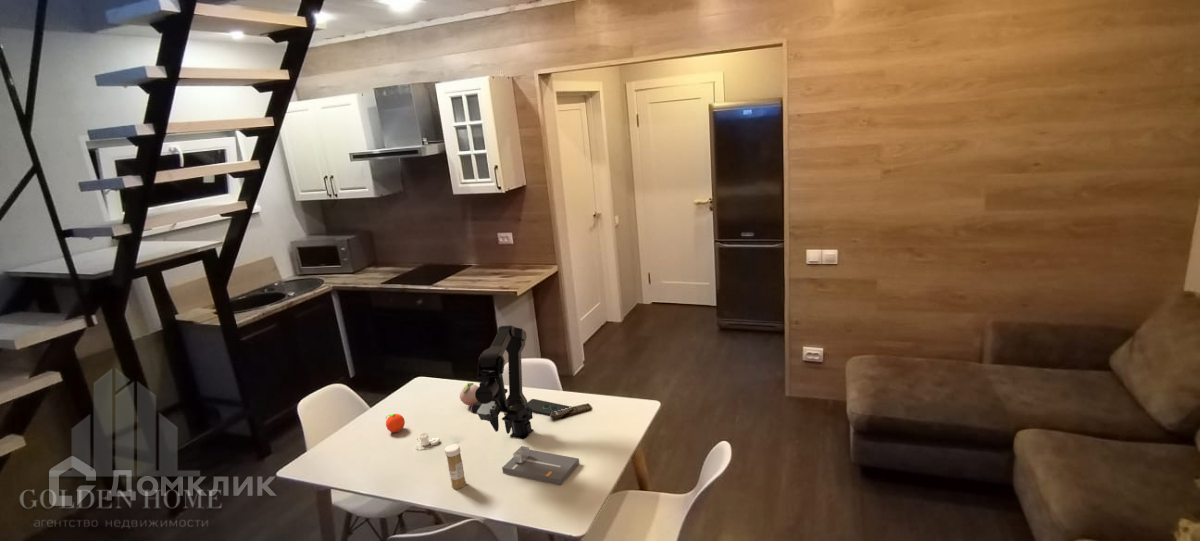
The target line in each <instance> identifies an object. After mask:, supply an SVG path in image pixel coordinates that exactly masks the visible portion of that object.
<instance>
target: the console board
mask: <svg viewBox="0 0 1200 541" xmlns="http://www.w3.org/2000/svg"><path fill="white" fill-rule="evenodd" d="M579 465H580V460H579V458H577V457H572V456H568V455H561V454H556V453H551V452H545V451H539V450H534V449H530V456H529V457H528V458H527V459H526V460H525V461H524V462H523V463H522V464H521V463H516V462H514V456H513V457H512V458H511V459H510V460H509V461H508V462H506V463H505V464H504V465H503V466H502V467H501V469H502V473H503V474H507V475H510V476H517V477H521V478H525V479H530V480H534V481H539V482H544V483H549V484H553V485H559V486H563V484H564V482H565V481H566V480H567V479H568V478H569V477H570V475H572V473H573V472H574V471H575V470H576V469H577V467H579Z"/></svg>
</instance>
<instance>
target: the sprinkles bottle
mask: <svg viewBox="0 0 1200 541" xmlns="http://www.w3.org/2000/svg"><path fill="white" fill-rule="evenodd" d="M444 452H445V453H444V454H445V456H446V459H447V464H448V465H447V467H448V471H449V477H450V482H451V487H452V488H453V489H456V490H458V489H462V488H463V487H464V486H466V484H467V482H466V478H465V469H464V465H463V460H462V454H461V447H460V445H459V444H456V443H454V444H450V445H448V446H446V447H445V449H444Z"/></svg>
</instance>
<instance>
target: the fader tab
mask: <svg viewBox="0 0 1200 541" xmlns="http://www.w3.org/2000/svg"><path fill="white" fill-rule="evenodd" d="M530 450H531V449H530V447H529V446H523V445H521V446H520V447H519V448H518V449H517V450H515V452H513V453H512V455H513V457H514V462H516V463H521V464H522V463H523V462H524V461H525V460H526V459H527V458H528V457H529V456H530Z"/></svg>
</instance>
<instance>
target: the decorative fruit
mask: <svg viewBox="0 0 1200 541" xmlns="http://www.w3.org/2000/svg"><path fill="white" fill-rule="evenodd" d="M478 387H479V386H478V385H476V384H474V383H473V382H468V383H467V384H465V385H464V386H463V387H462V389H461V391H460V393H459V399H460V401H461V403H463V404H464V405H466V406H471V407H472V405H473V404H474V403H476V402H477V401H478V400H477V399H476V397H475V392H476V390H477V389H478Z"/></svg>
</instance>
